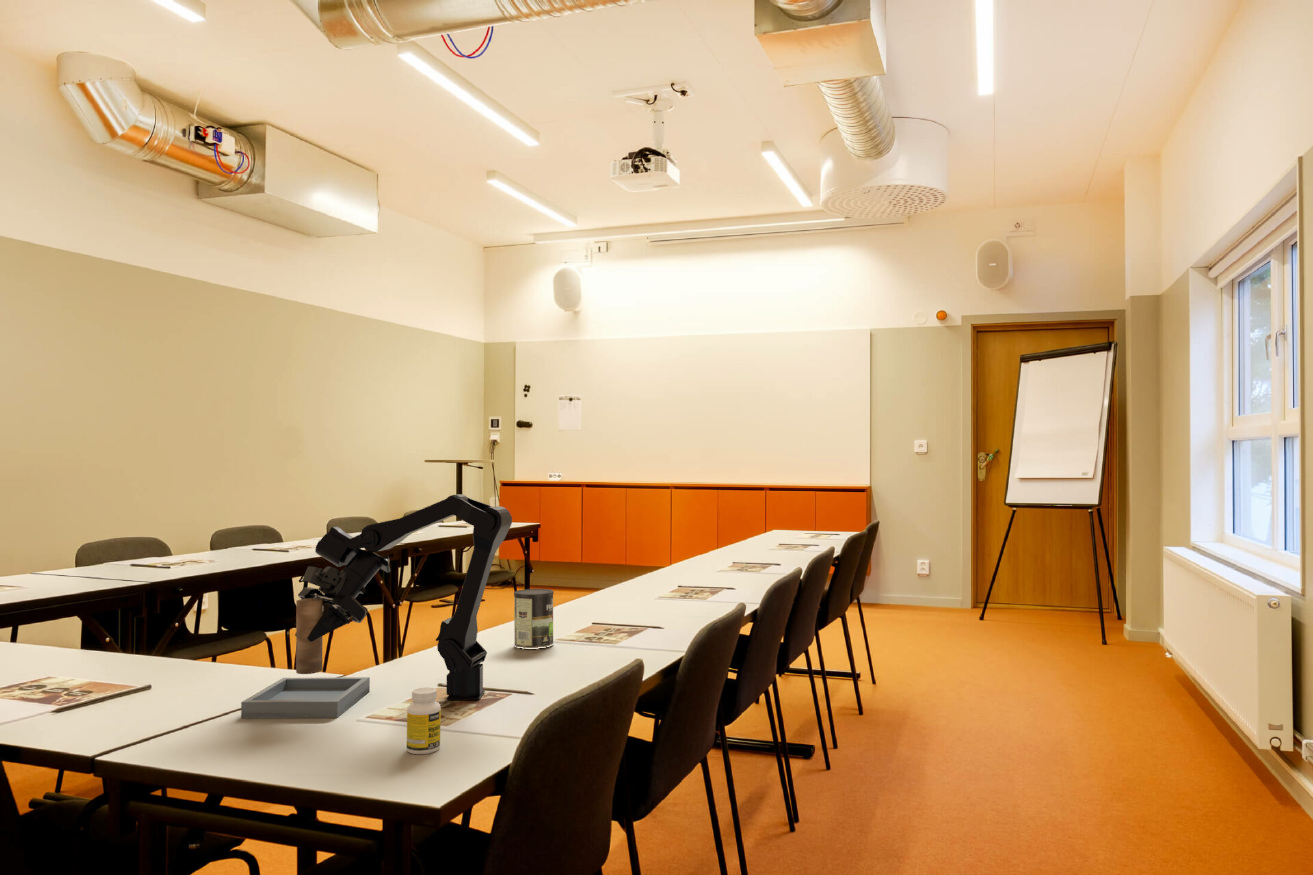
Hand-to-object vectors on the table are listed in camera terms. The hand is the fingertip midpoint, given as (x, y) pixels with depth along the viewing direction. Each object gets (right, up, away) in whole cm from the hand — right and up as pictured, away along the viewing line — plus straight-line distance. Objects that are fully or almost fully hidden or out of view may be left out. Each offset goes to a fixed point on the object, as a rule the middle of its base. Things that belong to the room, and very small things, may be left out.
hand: (302, 638), depth 167 cm
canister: (+1, -7, +1) cm, 7 cm away
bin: (+1, -13, +1) cm, 13 cm away
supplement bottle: (+31, -12, -26) cm, 43 cm away
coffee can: (+38, -15, +54) cm, 67 cm away
